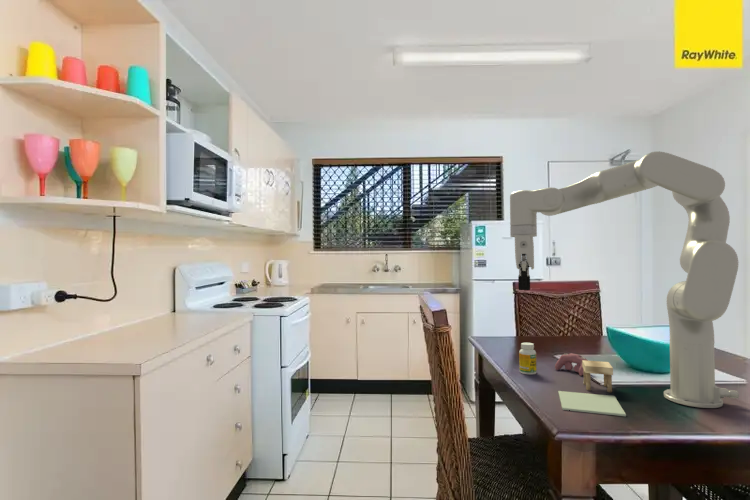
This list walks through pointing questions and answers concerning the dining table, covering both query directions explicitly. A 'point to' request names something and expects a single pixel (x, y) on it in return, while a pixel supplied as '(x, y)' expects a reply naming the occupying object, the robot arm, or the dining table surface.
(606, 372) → the stool
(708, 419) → the dining table surface
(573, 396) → the mat
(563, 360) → the video game controller
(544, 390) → the dining table surface
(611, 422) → the dining table surface
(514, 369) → the dining table surface
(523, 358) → the supplement bottle
